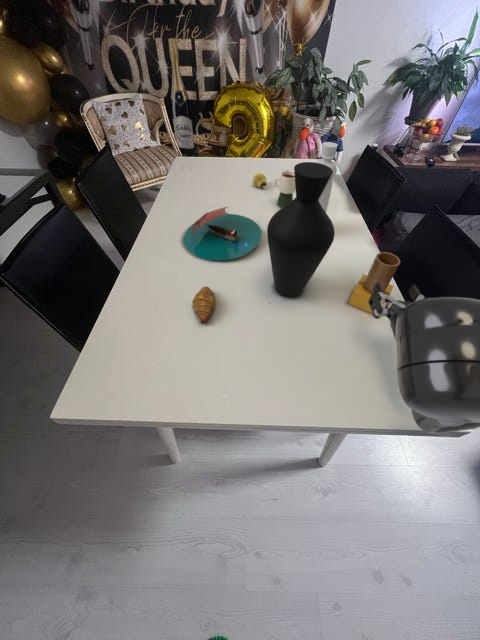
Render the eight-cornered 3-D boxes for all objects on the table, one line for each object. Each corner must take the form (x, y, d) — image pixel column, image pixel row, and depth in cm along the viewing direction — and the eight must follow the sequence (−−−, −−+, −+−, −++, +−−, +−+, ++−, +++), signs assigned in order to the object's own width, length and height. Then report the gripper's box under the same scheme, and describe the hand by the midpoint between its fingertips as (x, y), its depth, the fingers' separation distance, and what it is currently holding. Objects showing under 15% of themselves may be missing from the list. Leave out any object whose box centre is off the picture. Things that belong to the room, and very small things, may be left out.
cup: (387, 285, 86) (402, 257, 78) (381, 297, 82) (396, 269, 75) (366, 277, 88) (380, 249, 80) (360, 289, 84) (373, 260, 77)
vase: (328, 291, 91) (369, 173, 65) (290, 317, 83) (319, 195, 57) (286, 263, 99) (308, 149, 73) (249, 285, 91) (257, 166, 65)
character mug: (297, 203, 127) (303, 171, 118) (297, 211, 123) (303, 179, 113) (272, 200, 128) (275, 169, 118) (270, 208, 123) (274, 176, 114)
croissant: (194, 290, 89) (193, 278, 85) (217, 291, 89) (216, 278, 86) (190, 325, 80) (188, 312, 76) (215, 325, 80) (215, 312, 77)
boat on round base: (215, 210, 121) (212, 183, 112) (275, 230, 110) (277, 201, 101) (168, 247, 107) (160, 219, 98) (232, 274, 96) (229, 245, 87)
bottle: (310, 223, 117) (330, 137, 94) (326, 234, 112) (351, 147, 89) (292, 229, 113) (308, 142, 91) (308, 241, 108) (329, 152, 86)
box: (387, 298, 90) (394, 285, 86) (378, 316, 85) (386, 303, 81) (357, 286, 93) (363, 273, 89) (347, 303, 88) (353, 290, 84)
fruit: (261, 193, 132) (247, 182, 136) (270, 193, 136) (256, 182, 140) (266, 180, 129) (252, 169, 133) (275, 181, 132) (261, 170, 136)
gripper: (459, 328, 60) (430, 276, 71) (388, 323, 61) (370, 272, 71) (439, 350, 66) (415, 298, 77) (375, 345, 66) (360, 295, 77)
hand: (394, 286), depth 74 cm, fingers open, 8 cm apart
